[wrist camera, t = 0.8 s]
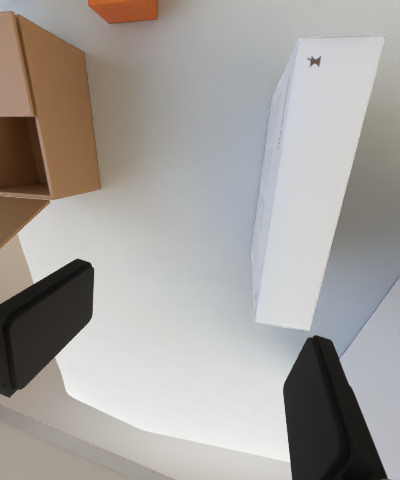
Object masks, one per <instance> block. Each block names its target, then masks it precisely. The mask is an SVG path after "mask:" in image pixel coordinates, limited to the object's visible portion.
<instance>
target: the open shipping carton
mask: <svg viewBox="0 0 400 480" xmlns="http://www.w3.org/2000/svg"><path fill="white" fill-rule="evenodd" d="M99 189H101V187H100V179H99V170H98V162H97V154H96V146H95V137H94V129H93V121H92V113H91V104H90V96H89V88H88V80H87V72H86V63H85V55H84V52H83V51H81V50H79V49H77V48H76V47H74V46H72V45H71V44H69V43H67V42H65V41H64V40H62V39H60V38H58V37H57V36H55V35H53V34H52V33H50V32H48V31H46V30H45V29H43V28H41V27H39V26H38V25H36V24H34V23H33V22H31V21H29V20H27V19H26V18H24V17H22V16H20V15H15V14H14V13H13V12H12V11H8V12H0V196H11V197H24V198H37V199H51V200H56V199H60V198H64V197H68V196H73V195H77V194H81V193H86V192H90V191H94V190H99Z"/></svg>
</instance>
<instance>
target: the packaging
mask: <svg viewBox="0 0 400 480" xmlns="http://www.w3.org/2000/svg"><path fill="white" fill-rule="evenodd" d="M339 360H340V363H341V365H342V368H343V370H344V373H345V376H346V378H347V381H348V383H349V385H350V386H351V387H352V389H353V391H354V394H355V396H356V399H357V401H358V404H359V406H360V409H361V411H362V414H363V416H364V419H365V421H366V424H367V426H368V429H369V431H370V434H371V437H372V439H373V442H374V444H375V447H376V449H377V452H378V454H379V457H380V459H381V462H382V464H383V467H384V469H385V472H386V474H387V477H388V479H391V480H400V277H399V279H398V280H397V281H396V283H395V284H394V285H393V287H392V288H391V290H390V291H389V292H388V294H387V295H386V296H385V298H384V299H383V301H382V302H381V303H380V305H379V306H378V307H377V309H376V310H375V311H374V313H373V314H372V316H371V317H370V318H369V320H368V321H367V322H366V324H365V325H364V327H363V328H362V329H361V331H360V332H359V333H358V335H357V336H356V337H355V339H354V340H353V342H352V343H351V344H350V346H349V347H348V348H347V350H346V351H345V353H344V354H343V355H342V357H341V358H340V359H339Z"/></svg>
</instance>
